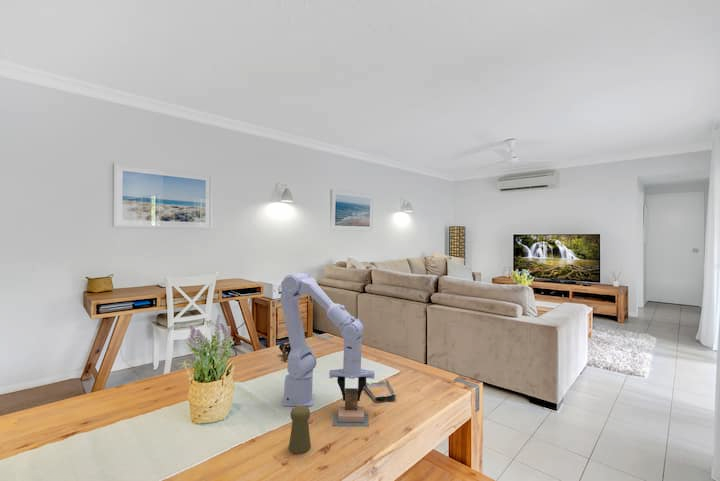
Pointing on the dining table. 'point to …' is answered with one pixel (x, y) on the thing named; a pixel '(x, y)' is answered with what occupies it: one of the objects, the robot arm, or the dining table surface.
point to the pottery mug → (285, 350)
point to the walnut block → (351, 398)
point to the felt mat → (337, 423)
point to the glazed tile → (351, 415)
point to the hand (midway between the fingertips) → (351, 399)
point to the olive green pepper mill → (300, 430)
